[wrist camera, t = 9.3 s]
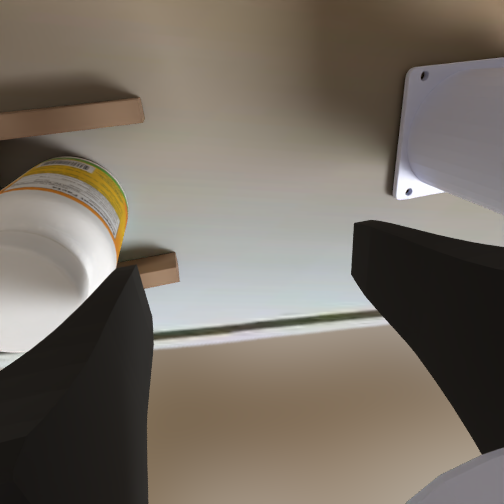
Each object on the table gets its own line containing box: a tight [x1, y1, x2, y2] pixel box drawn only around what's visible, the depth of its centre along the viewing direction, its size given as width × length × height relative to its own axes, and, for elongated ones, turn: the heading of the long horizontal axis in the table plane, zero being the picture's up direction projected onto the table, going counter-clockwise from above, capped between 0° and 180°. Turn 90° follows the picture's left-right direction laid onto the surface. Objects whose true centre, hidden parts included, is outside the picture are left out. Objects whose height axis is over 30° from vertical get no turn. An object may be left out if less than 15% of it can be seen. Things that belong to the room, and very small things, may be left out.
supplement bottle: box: [0, 156, 128, 352], centre depth 15 cm, size 5×5×10 cm
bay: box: [0, 97, 180, 289], centre depth 18 cm, size 9×10×2 cm
